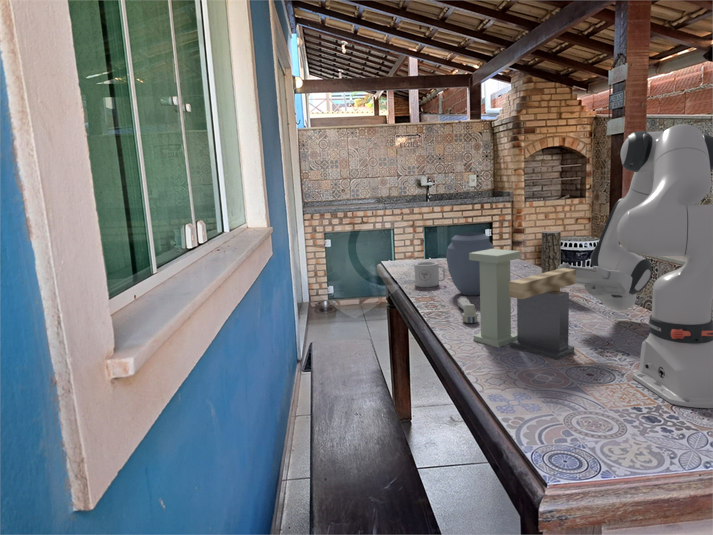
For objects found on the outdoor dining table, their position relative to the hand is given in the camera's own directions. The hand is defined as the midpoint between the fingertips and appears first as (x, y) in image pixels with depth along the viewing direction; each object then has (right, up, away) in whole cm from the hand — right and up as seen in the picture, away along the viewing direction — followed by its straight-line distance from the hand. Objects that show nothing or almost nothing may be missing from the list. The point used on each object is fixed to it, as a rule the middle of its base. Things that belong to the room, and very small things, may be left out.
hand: (579, 267), depth 146 cm
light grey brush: (-25, -17, +33) cm, 45 cm away
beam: (-13, -6, -9) cm, 17 cm away
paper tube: (+12, -11, +54) cm, 56 cm away
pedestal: (-23, -21, +3) cm, 32 cm away
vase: (-17, -11, +63) cm, 66 cm away
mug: (-30, -8, +85) cm, 90 cm away
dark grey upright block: (-13, -23, -7) cm, 27 cm away
